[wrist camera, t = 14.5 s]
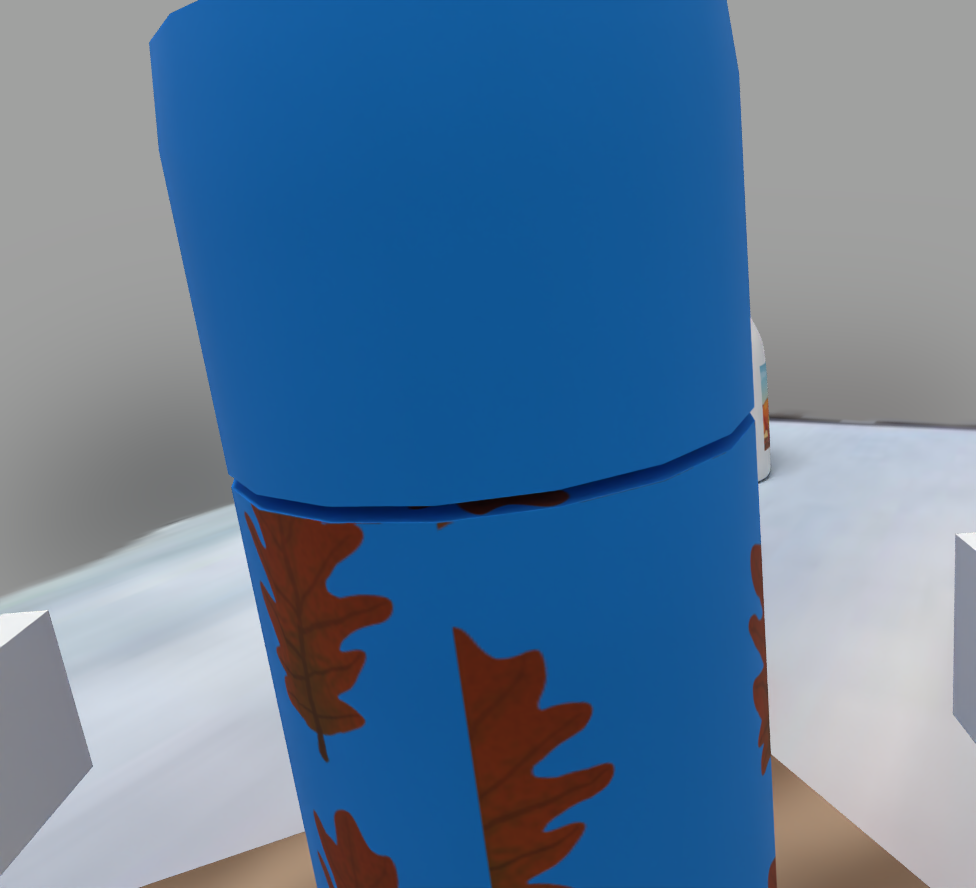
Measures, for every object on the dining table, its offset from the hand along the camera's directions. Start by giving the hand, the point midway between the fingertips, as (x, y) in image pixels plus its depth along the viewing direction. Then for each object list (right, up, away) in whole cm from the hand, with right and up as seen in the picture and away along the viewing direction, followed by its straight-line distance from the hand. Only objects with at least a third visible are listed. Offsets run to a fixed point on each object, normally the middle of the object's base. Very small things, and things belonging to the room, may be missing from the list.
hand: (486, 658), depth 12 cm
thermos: (+2, -13, +10) cm, 17 cm away
